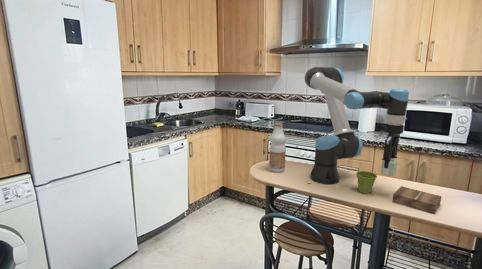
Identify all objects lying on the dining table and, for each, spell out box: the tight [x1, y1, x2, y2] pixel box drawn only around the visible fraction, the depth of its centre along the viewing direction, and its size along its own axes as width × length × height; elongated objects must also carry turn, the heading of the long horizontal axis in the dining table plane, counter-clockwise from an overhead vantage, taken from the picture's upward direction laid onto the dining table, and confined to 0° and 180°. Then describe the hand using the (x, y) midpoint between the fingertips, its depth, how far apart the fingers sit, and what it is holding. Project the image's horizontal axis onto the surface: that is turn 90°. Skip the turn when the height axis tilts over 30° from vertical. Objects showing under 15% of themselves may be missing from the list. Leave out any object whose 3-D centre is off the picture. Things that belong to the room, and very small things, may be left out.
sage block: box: [380, 160, 398, 177], centre depth 131 cm, size 5×5×6 cm
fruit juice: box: [268, 122, 287, 174], centre depth 164 cm, size 9×9×28 cm
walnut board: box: [392, 186, 442, 215], centre depth 125 cm, size 16×12×4 cm
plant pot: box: [355, 170, 378, 194], centre depth 137 cm, size 9×9×9 cm
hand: (387, 172), depth 132 cm, fingers closed on sage block, 5 cm apart
